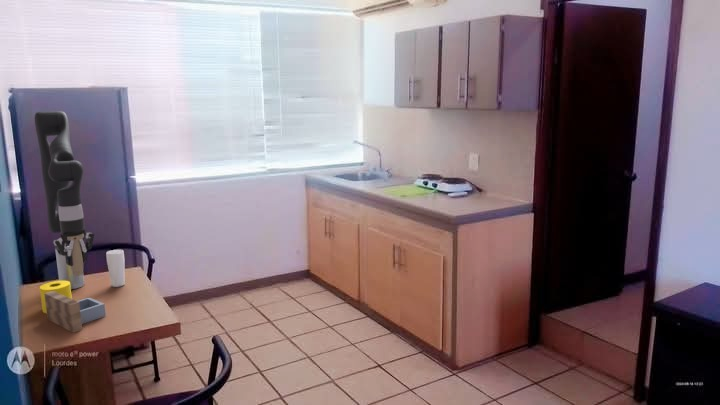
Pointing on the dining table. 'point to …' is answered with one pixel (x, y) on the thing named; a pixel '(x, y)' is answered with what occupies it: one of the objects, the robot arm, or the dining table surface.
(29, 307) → the dining table surface
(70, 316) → the block
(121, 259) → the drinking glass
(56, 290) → the tape roll
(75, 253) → the handle
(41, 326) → the dining table surface
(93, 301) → the box
